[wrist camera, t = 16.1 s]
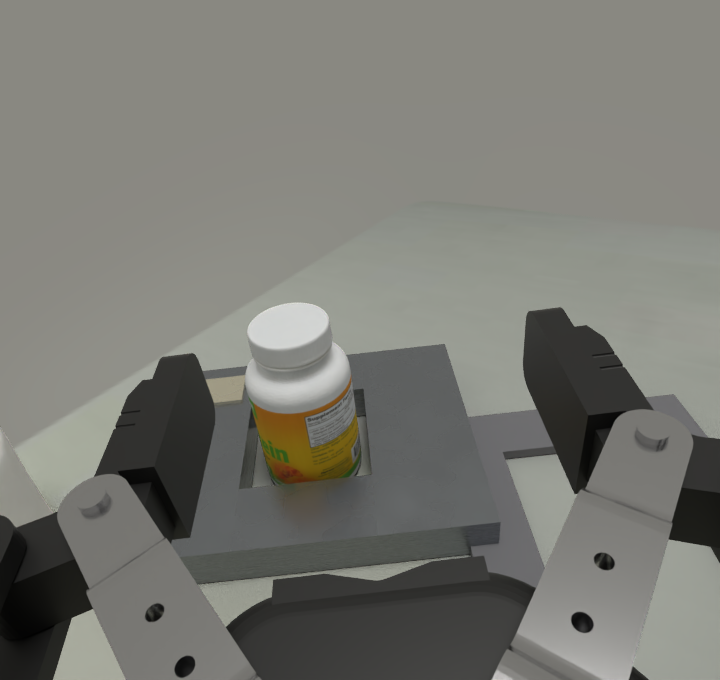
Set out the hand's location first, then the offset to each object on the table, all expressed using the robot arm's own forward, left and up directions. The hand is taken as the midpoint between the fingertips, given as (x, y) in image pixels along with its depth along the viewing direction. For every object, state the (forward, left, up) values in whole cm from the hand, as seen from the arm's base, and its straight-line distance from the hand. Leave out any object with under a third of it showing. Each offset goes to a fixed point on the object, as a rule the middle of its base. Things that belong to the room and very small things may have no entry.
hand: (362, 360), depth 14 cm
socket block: (-3, -12, -16) cm, 20 cm away
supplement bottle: (-3, -12, -16) cm, 20 cm away
